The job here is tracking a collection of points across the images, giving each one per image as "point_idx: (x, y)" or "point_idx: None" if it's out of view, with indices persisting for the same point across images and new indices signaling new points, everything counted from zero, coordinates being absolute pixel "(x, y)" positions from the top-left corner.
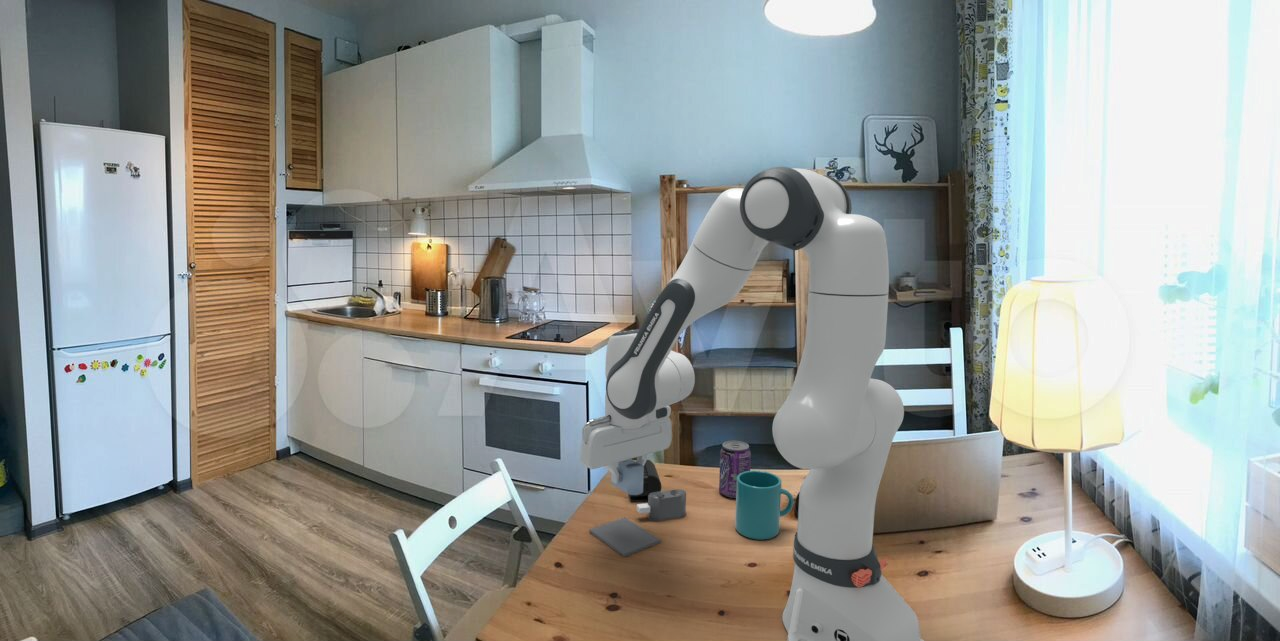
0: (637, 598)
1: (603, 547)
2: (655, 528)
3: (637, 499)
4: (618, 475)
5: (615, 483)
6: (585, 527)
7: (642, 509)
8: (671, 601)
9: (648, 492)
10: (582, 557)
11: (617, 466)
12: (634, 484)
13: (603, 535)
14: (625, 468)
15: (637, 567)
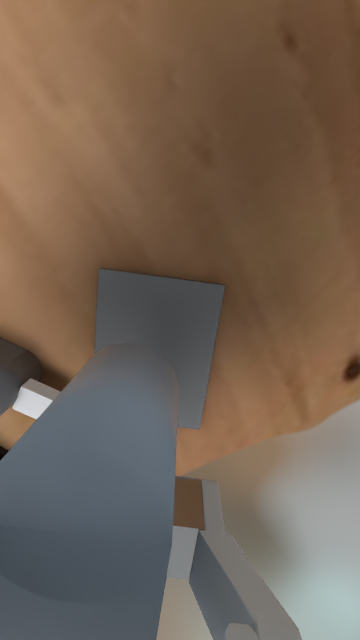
0: (355, 105)
1: (226, 354)
2: (60, 329)
3: (1, 457)
4: (208, 525)
5: (215, 483)
6: (189, 446)
7: (47, 394)
8: (308, 11)
9: None
10: (294, 355)
11: (237, 634)
12: (157, 387)
13: (195, 387)
14: (168, 562)
15: (238, 222)
